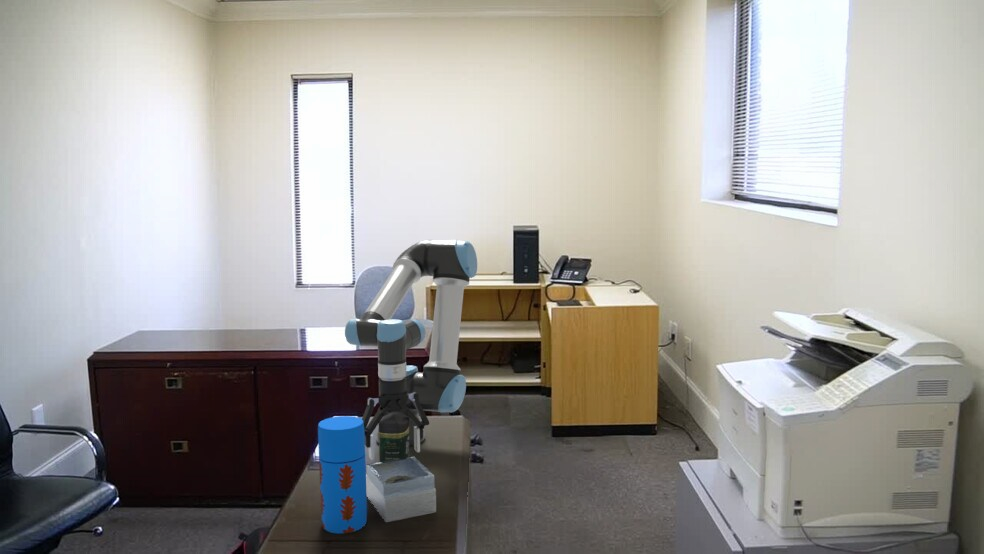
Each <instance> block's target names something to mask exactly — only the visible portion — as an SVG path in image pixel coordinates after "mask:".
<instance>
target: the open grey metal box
mask: <svg viewBox="0 0 984 554" xmlns="http://www.w3.org/2000/svg"><path fill="white" fill-rule="evenodd" d="M366 493H367V497H368V498H367V500H368V501H369V500H370V501H371V502H370V501H369V502H370V503H371V505H372V504H373V505H374V506H373V505H372V506H373V507H374V509H375V508H376V509H377V510H376V509H375V510H376V511H377V513H378V512H379V513H378V514H379V515H380V517H381V516H382V517H381V518H382V520H383V519H384V520H383V521H384V522H385V523H389V522H395V521H400V520H405V519H409V518H414V517H418V516H424V515H428V514H429V515H430V514H433V513H437V488H436V487H435V475H434V474H433V473H432V472H431V471H430V470H429V469H428V468H427V467H426V466H424V464H423V463H421V461H419V460H418V458H416V457H415V456H409V457H408V458H402V459H396V460H390V461H385V462H380V461H379V462H373V463H368V464H367V463H366Z"/></svg>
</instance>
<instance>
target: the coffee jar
mask: <svg viewBox="0 0 984 554" xmlns="http://www.w3.org/2000/svg"><path fill="white" fill-rule="evenodd" d="M378 427H379V443H378V444H379V445H378V449H379V454H378V455H379V458H378V459H379V462H385V461H390V460H396V459H402V458H408V457H410V446H409V418H408V417H407V416H406V415H405V414H404V413H390V414H388V415H386V416H385V417H383V418H382V419H381V420H380V422H379V423H378Z"/></svg>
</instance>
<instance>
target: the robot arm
mask: <svg viewBox="0 0 984 554" xmlns="http://www.w3.org/2000/svg"><path fill="white" fill-rule="evenodd" d="M475 249H476V248H475V247H474V246H473V244H472V243H471V242H470V241H468V240H467V241H466V240H458V239H451V240H450V239H449V240H448V239H447V240H446V239H445V240H443V239H442V240H438V239H435V240H434V239H425V240H421V241H418V242H416V243H414V244H412V245H411V246H410V247H408V248H407V249H405V250H404V251H403V252H401V253H400V255H398V256H397V258H396V259H395V261H394V262H393V265H392V271H391V273H390V274H389V276H388V277H387V278H386V280H385V282H384V283H383V285H382V286H381V288H380V290H378V292H377V294H376V295H375V297H374V298H373V300H372V301H371V303H370V304H369V305H368V307H367V309H366V310H365V311H364V313H363V314H362V316H361V317H360V318H358V317H357V318H351V319H349V320H348V321H347V323H346V325H345V329H344V336H345V339H346V342H347V343H348V344H350V345H352V346H353V345H354V346H360V347H377V366H378V367H377V368H378V371H377V374H378V378H379V379H378V396H377V397H375V398H374V397H373V398H372V397H367V400H366V401H367V402H366V408H365V410H364V413H363V415H362V418H361V419H362V420H363V424H364V433H365V448H367V449H368V458H369V459H370V460H371V461H374V460H375V439H374V435H373V434H372V433H373V432H374V431H375V429H376V427H377V426H378V427H377V431H376V442H377V444H379V422H380V420H381V419H382V418H383V417H385V416H386V415H388V414H390V413H404V414H405V415H406V416H407V417H408V418H409V447H411V446H413V447H414V448H413V450H414V451H415V452H416V453H421V443H423V442H424V440H425V437H426V436H425V429H424V428H425V426H429V425H430V421H429V418H428V416H427V414H426V412H427V411H428V412H437V413H454V412H456V411H457V410H458V409H459V408H460V407H461V405H462V403H463V401H464V400H465V399H464V398H465V394H466V389H467V384H466V383H467V380H466V377H465V376H464V375H463V374H461V372H462V371H461V368H460V367H459V365H458V362H457V361H458V352H459V342H460V330H461V323H462V322H461V319H462V311H463V301H464V293H465V292H464V291H465V288H467V286H469V285H470V280H471V279H472V278H475V276H476V275H477V272H478V258H477V254H476V250H475ZM423 277H432V281H433V283H434V284H435V286H436V291H435V302H434V309H433V321H432V331H431V339H430V340H431V342H430V349H429V360H428V361H427V363H425V364H424V365H423V370H422V372H419V369H418V366H416V365H407V351H408V350H410V349H412V348H415V347H417V346H419V345H420V344H421V343H423V341H424V340H425V338H426V329H425V326H424V324H423V323H422V322H421V321H420V320H418V319H406V320H402V319H394V318H393V316H394V315H395V313H396V311H397V310H398V308H399V307H400V305H401V304H402V302H403V301H404V299H405V297H406V295H407V294H408V293H409V291H410V289H411V288H412V286H413V284H416V283H417V282H419V281H420V279H421V278H423ZM377 404H379V407H378V408H377V412H376V413H375V415H374V416H373V417H372V414H373V412H374V409H375V408H376V405H377ZM371 417H372V419H371Z"/></svg>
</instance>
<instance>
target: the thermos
mask: <svg viewBox="0 0 984 554" xmlns="http://www.w3.org/2000/svg"><path fill="white" fill-rule="evenodd" d="M317 438H318V440H317V441H318V444H317V445H318V462H319V463H318V466H319V467H318V469H319V490H320V514H321V521H322V522H321V524H322V529H323V530H324V531H326V532H329V533H332V534H348V533H353V532H357V531H359V530H361V529H362V527H363V526H364V527H365V526H366V525H365V524H367V523H366V522H367V517H368V503H367V501H368V498H367V493H366V474H367V470H366V465H367V463H366V446H365V433H364V424H363V420H362V418H361V417H357V416H353V415H352V416H350V415H346V416H345V415H340V416H332V417H328V418H324V419H323V420H321V421H319V422H318V425H317ZM364 527H363V528H364ZM356 530H357V531H356Z"/></svg>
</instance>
